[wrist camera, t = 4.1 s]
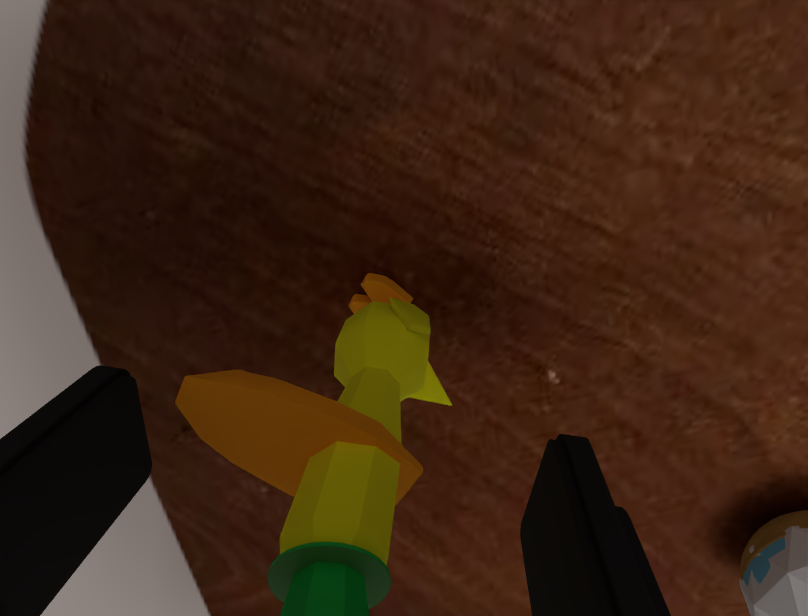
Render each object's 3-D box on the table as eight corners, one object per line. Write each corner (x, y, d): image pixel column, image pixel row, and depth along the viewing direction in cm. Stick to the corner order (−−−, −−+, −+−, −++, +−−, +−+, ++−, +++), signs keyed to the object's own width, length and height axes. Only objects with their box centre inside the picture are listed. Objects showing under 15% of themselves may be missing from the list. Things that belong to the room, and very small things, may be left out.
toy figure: (282, 291, 18) (27, 605, 7) (318, 213, 16) (63, 463, 5) (429, 368, 19) (405, 747, 8) (476, 301, 17) (526, 660, 6)
